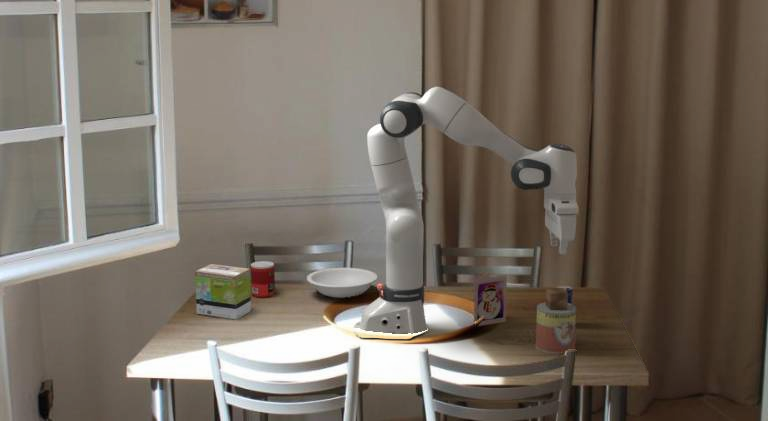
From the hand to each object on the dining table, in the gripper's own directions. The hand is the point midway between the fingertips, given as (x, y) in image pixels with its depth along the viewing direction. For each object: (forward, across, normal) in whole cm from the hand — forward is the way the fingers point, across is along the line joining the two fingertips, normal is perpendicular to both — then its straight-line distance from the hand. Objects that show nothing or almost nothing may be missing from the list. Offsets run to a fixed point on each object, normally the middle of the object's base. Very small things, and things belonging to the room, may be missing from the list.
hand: (558, 249), depth 293 cm
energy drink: (+29, -19, +7) cm, 35 cm away
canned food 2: (+29, 0, 0) cm, 29 cm away
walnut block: (+17, 0, 0) cm, 17 cm away
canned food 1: (+29, -61, -86) cm, 109 cm away
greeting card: (+29, -25, -16) cm, 42 cm away
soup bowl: (+29, -58, -59) cm, 88 cm away
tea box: (+29, -42, -98) cm, 111 cm away
